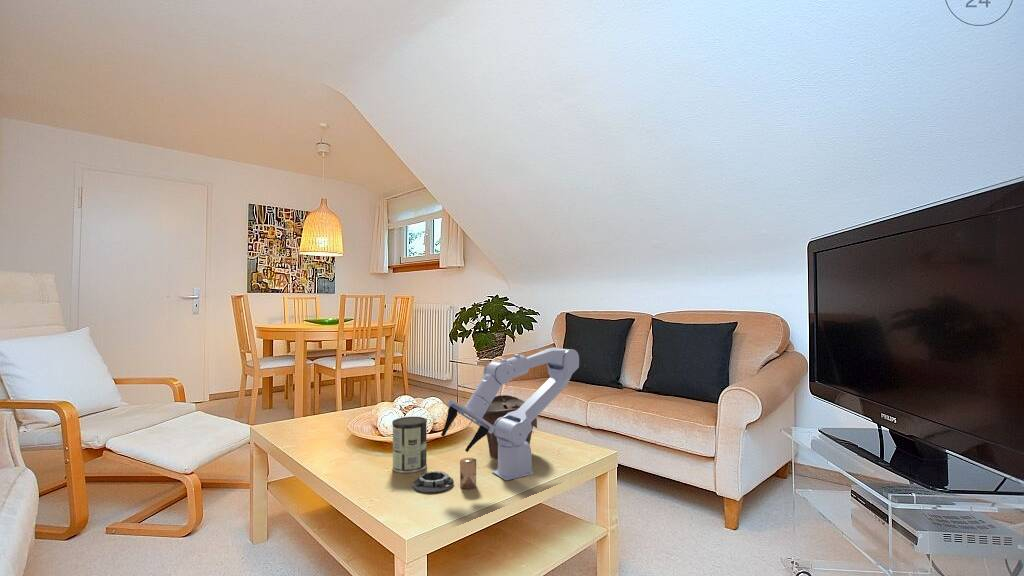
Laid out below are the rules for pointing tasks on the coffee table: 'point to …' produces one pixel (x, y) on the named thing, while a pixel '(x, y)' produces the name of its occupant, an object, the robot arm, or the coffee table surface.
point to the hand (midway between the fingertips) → (454, 443)
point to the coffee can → (409, 444)
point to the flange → (433, 482)
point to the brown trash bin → (500, 409)
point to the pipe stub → (468, 473)
